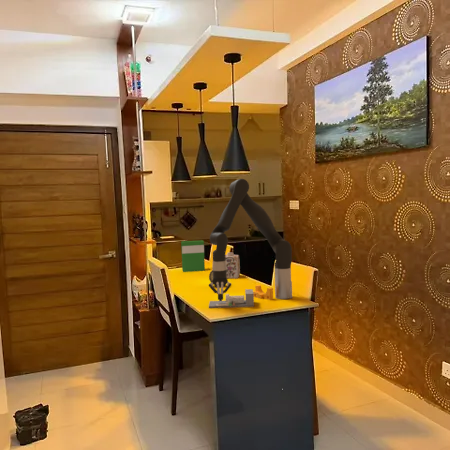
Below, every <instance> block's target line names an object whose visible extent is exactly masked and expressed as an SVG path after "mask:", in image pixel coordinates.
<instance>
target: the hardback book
mask: <svg viewBox="0 0 450 450" xmlns="http://www.w3.org/2000/svg"><path fill="white" fill-rule="evenodd" d="M204 243H205V241H204V240H202V239H200V240H186V241H181V242H180V244H181V246H180V248H181V268H182V269H181V271H182V273H191V272H206V268H205V267H206V266H205V244H204Z"/></svg>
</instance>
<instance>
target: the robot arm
mask: <svg viewBox="0 0 450 450" xmlns="http://www.w3.org/2000/svg"><path fill="white" fill-rule="evenodd" d="M228 188H229V192H230V194H231V198H230V199H229V201H228V203H227V205H226V206H225V208H224V209H223V212H222V213H221V215H220V217H219V220H218V222H217V224H216V226H215V227H214V228H213V230H212V232H211V233H210V235H209V242H210V244H211V245H213V246H216V247H215V250H213V251H212V270H213V280H212V282H210V283H209V284H208V287H209V288H210V289H211V290H212V292H213V293H214V294H217V301H224V294H227V292H228V290H229V289H230V288H231V286H232V282H230V281H229V280H228V278H227V270H226V255H227V253H226V252H227V248H228V243H229V242H228V240H229V239H228V236H227V234H226V233H225V232H227V231H229V230H230V229H231V227H232V224H233V221H234V218H235V216H236V214H237V212H238V210H239V208H240V206H241V207H242V209H243V210H244V211H245V213H246V214H247V216H248V217H249V218H250V219H251V220H250V221H252V222H253V224H254V226H255V227H256V228H257V229H258V230H259V231H260V233H261V234H262V235H263V236H264V237H265V239H266V240H267V242H268V243H269V245H270V247H271V248H272V250H273V252H274V253H275V262H274V287H275V288H274V291H275V292H274V293H275V298H276V299H277V300H288V299H293V281H292V270H291V269H292V268H291V265H292V261H293V255H292V253H293V251H292V250H293V249H292V245H291V243H290V242H289V241H288V240H285V239H284V238H283V237H282V236H281V235H280V233H279V232H278V231H277V230H276V227H275V226H274V223H273V221H272V218H271V217H270V216H269V214H268V212H266V210H265V209H264V208H263V206H261V205H259V204H258V203H257V202H256V201H254V199H253V198H252V197H251V196H250V194H248V192H249V189H250V184H249V182H248V181H247V180H246V179H244V178H239V179H236V180H234V181H232V182H231V183H230V185H229V187H228ZM224 288H225V289H224Z"/></svg>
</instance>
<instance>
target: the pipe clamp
mask: <svg viewBox="0 0 450 450" xmlns="http://www.w3.org/2000/svg"><path fill="white" fill-rule="evenodd" d="M254 289H255V290H253V294H254V298H257V299H265V300H268V301H270V300H274V288H272V287H268V288H266V292H264V291H263V289H262V285H261V284H257V285H255V288H254Z"/></svg>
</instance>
